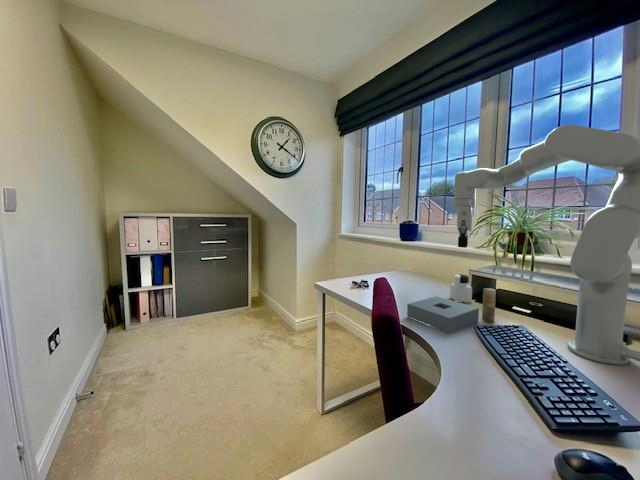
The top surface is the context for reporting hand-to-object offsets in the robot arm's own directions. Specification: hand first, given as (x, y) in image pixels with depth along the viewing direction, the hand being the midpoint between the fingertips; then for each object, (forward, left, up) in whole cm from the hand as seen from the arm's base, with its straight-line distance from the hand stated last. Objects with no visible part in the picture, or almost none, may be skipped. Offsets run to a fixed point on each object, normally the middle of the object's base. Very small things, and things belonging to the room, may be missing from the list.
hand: (462, 245), depth 112 cm
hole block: (-1, +14, -28) cm, 31 cm away
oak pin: (-11, 0, -28) cm, 30 cm away
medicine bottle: (+9, -15, -28) cm, 33 cm away
